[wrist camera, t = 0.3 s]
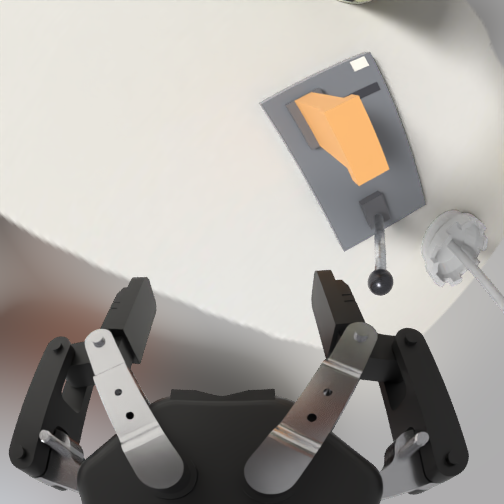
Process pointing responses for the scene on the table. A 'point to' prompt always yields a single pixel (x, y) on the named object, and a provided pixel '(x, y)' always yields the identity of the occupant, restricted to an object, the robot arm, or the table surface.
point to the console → (335, 173)
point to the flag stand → (457, 251)
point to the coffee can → (355, 1)
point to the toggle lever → (380, 261)
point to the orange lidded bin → (340, 132)
